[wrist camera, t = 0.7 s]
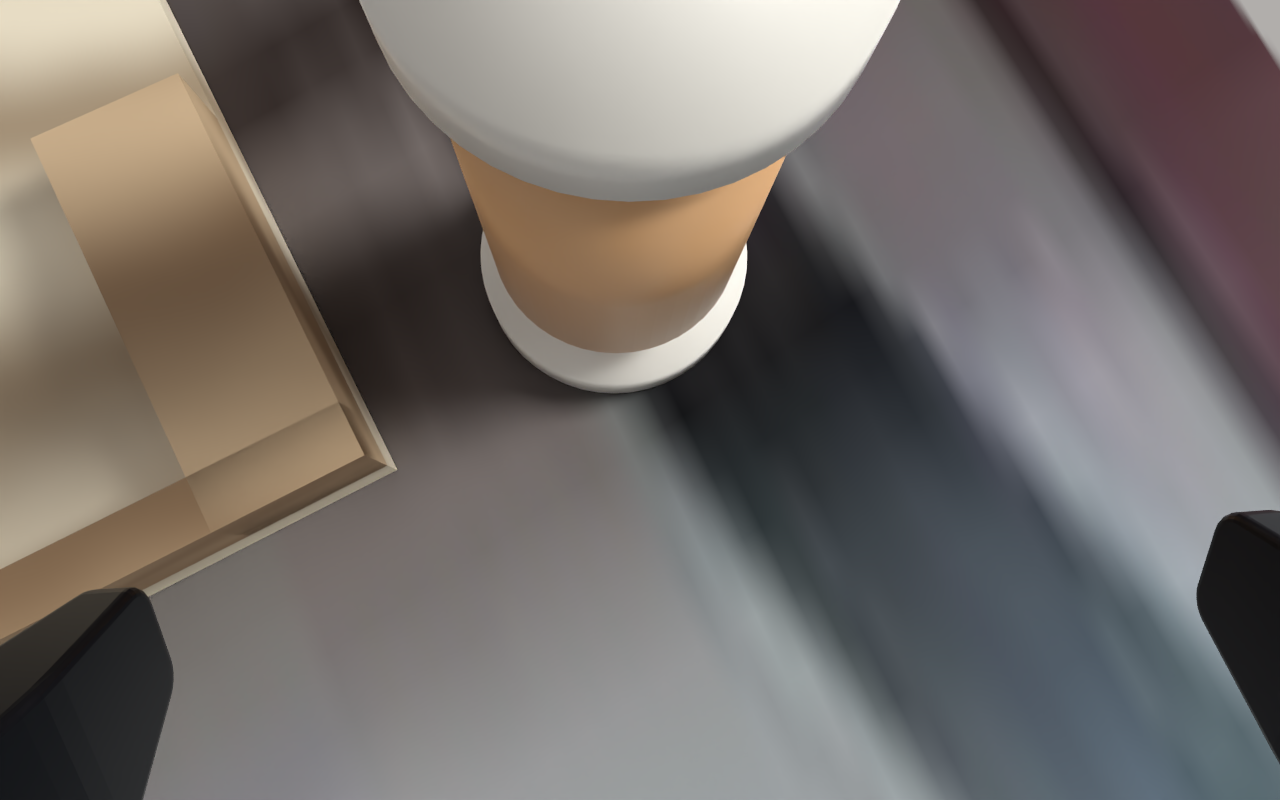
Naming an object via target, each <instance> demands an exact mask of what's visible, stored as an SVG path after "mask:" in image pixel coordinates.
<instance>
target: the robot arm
mask: <svg viewBox="0 0 1280 800" xmlns="http://www.w3.org/2000/svg"><path fill="white" fill-rule="evenodd" d="M1196 598H1197V606H1198V610H1199V613H1200V616H1201V618H1202V621H1203V622H1204V624H1205V626H1206V628H1207V630H1208V632H1209V634H1210V635H1211V637H1212V639H1213V641H1214V643H1215V645H1216V647H1217V649H1218V650H1219V652H1220V654H1221V656H1222V658H1223V660H1224V662H1225V664H1226V665H1227V667H1228V669H1229V671H1230V673H1231V675H1232V677H1233V678H1234V680H1235V682H1236V684H1237V686H1238V688H1239V690H1240V692H1241V693H1242V695H1243V697H1244V699H1245V701H1246V703H1247V705H1248V706H1249V708H1250V710H1251V712H1252V714H1253V716H1254V718H1255V720H1256V721H1257V723H1258V725H1259V727H1260V729H1261V731H1262V733H1263V735H1264V736H1265V738H1266V740H1267V742H1268V744H1269V746H1270V748H1271V749H1272V751H1273V753H1274V755H1275V756H1276V758H1277V760H1278V762H1279V764H1280V511H1274V510H1263V511H1249V512H1234V513H1231V514H1229V515H1226V516H1225V517H1223V518H1222V520H1221V521H1220V522H1219V523H1218V525H1217V527H1216V529H1215V532H1214V535H1213V538H1212V542H1211V545H1210V548H1209V551H1208V554H1207V557H1206V561H1205V564H1204V567H1203V570H1202V573H1201V576H1200V580H1199V583H1198V587H1197V597H1196ZM172 689H173V666H172V661H171V658H170V655H169V652H168V649H167V646H166V644H165V641H164V638H163V635H162V632H161V629H160V626H159V624H158V621H157V618H156V615H155V612H154V609H153V606H152V604H151V602H150V599H149V597H148V596H147V595H146V593H145V592H144V591H142V590H141V589H138V588H136V587H124V588H109V589H95V590H89V591H86V592H83V593H81V594H80V595H78V596H76V597H75V598H73V599H72V600H70V601H69V602H67V603H65V604H64V605H62V606H61V607H59V608H58V609H56V610H55V611H53V612H51V613H50V614H48V615H47V616H45V617H44V618H42V619H40V620H39V621H37V622H36V623H34V624H33V625H31V626H30V627H28V628H26V629H25V630H23V631H22V632H20V633H19V634H17V635H15V636H14V637H12V638H11V639H9V640H8V641H6V642H4V643H3V644H1V645H0V800H143V797H144V794H145V790H146V786H147V783H148V779H149V775H150V772H151V768H152V764H153V761H154V757H155V753H156V749H157V746H158V742H159V738H160V735H161V731H162V727H163V724H164V720H165V716H166V713H167V709H168V705H169V702H170V698H171V694H172Z"/></svg>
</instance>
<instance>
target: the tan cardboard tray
mask: <svg viewBox="0 0 1280 800" xmlns="http://www.w3.org/2000/svg"><path fill="white" fill-rule="evenodd" d="M396 470H397V468H396V466H395V464H394V462H393V460H392V458H391V456H390V454H389V452H388V450H387V448H386V446H385V444H384V442H383V440H382V437H381V435H380V433H379V431H378V429H377V427H376V425H375V423H374V421H373V419H372V417H371V415H370V413H369V411H368V409H367V407H366V405H365V403H364V401H363V399H362V397H361V395H360V393H359V391H358V389H357V387H356V385H355V383H354V381H353V379H352V377H351V375H350V373H349V370H348V368H347V366H346V364H345V362H344V360H343V358H342V356H341V354H340V352H339V350H338V348H337V346H336V344H335V342H334V340H333V338H332V336H331V334H330V332H329V330H328V328H327V326H326V324H325V322H324V320H323V318H322V316H321V314H320V312H319V310H318V308H317V306H316V304H315V301H314V299H313V297H312V295H311V293H310V291H309V289H308V287H307V285H306V283H305V281H304V279H303V277H302V275H301V273H300V271H299V269H298V267H297V265H296V263H295V261H294V259H293V257H292V255H291V253H290V251H289V249H288V247H287V245H286V243H285V241H284V239H283V237H282V234H281V232H280V230H279V228H278V226H277V224H276V222H275V220H274V218H273V216H272V214H271V212H270V210H269V208H268V206H267V204H266V202H265V200H264V198H263V196H262V194H261V192H260V190H259V188H258V186H257V184H256V182H255V180H254V178H253V176H252V174H251V172H250V170H249V168H248V165H247V163H246V161H245V159H244V157H243V155H242V153H241V151H240V149H239V147H238V145H237V143H236V141H235V139H234V137H233V135H232V133H231V131H230V129H229V127H228V125H227V123H226V121H225V119H224V117H223V115H222V113H221V111H220V109H219V107H218V105H217V103H216V101H215V98H214V96H213V94H212V92H211V90H210V88H209V86H208V84H207V82H206V80H205V78H204V76H203V74H202V72H201V70H200V68H199V66H198V64H197V62H196V60H195V58H194V56H193V54H192V52H191V50H190V48H189V46H188V44H187V42H186V40H185V38H184V36H183V34H182V32H181V29H180V27H179V25H178V23H177V21H176V19H175V17H174V15H173V13H172V11H171V9H170V7H169V5H168V3H167V1H166V0H0V645H1V644H3V643H4V642H6V641H8V640H9V639H11V638H12V637H14V636H15V635H17V634H19V633H20V632H22V631H23V630H25V629H26V628H28V627H30V626H31V625H33V624H34V623H36V622H37V621H39V620H40V619H42V618H44V617H45V616H47V615H48V614H50V613H51V612H53V611H55V610H56V609H58V608H59V607H61V606H62V605H64V604H65V603H67V602H69V601H70V600H72V599H73V598H75V597H76V596H78V595H80V594H81V593H83V592H86V591H89V590H95V589H109V588H124V587H136V588H138V589H141V590H142V591H144V592H145V593H146V595H147V596H148V597H149V596H151V595H153V594H155V593H157V592H159V591H161V590H163V589H165V588H167V587H169V586H171V585H173V584H175V583H177V582H179V581H180V580H182V579H184V578H186V577H188V576H190V575H192V574H194V573H196V572H198V571H200V570H202V569H204V568H206V567H208V566H210V565H212V564H214V563H216V562H218V561H220V560H222V559H224V558H226V557H228V556H230V555H231V554H233V553H235V552H237V551H239V550H241V549H243V548H245V547H247V546H249V545H251V544H253V543H255V542H257V541H259V540H261V539H263V538H265V537H267V536H269V535H271V534H273V533H275V532H277V531H279V530H281V529H282V528H284V527H286V526H288V525H290V524H292V523H294V522H296V521H298V520H300V519H302V518H304V517H306V516H308V515H310V514H312V513H314V512H316V511H318V510H320V509H322V508H324V507H326V506H328V505H330V504H331V503H333V502H335V501H337V500H339V499H341V498H343V497H345V496H347V495H349V494H351V493H353V492H355V491H357V490H359V489H361V488H363V487H365V486H367V485H369V484H371V483H373V482H375V481H377V480H379V479H381V478H382V477H384V476H386V475H388V474H390V473H392V472H394V471H396Z"/></svg>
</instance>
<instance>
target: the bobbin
mask: <svg viewBox="0 0 1280 800" xmlns="http://www.w3.org/2000/svg"><path fill="white" fill-rule="evenodd" d="M359 1H360V3H361V6H362V8H363V10H364V12H365V15H366V17H367V19H368V22H369V24H370V26H371V29H372V31H373V33H374V36H375V38H376V40H377V42H378V44H379V46H380V48H381V50H382V52H383V54H384V56H385V58H386V60H387V62H388V64H389V66H390V69H391V70H392V72H393V73H394V75H395V76H396V78H397V79H398V81H399V82H400V84H401V85H402V87H403V88H404V89H405V91H406V92H407V94H408V95H409V97H410V98H411V99H412V100H413V101H414V103H415V104H416V105H417V106H418V107H419V108H420V109H421V110H422V111H423V113H424V114H425V115H426V116H427V117H428V118H429V119H430V120H431V121H432V122H433V124H435V125H436V126H437V127H438V128H439V129H440V130H442V131H443V132H444V133H445V134H446V135H448V136H449V137H450V139H451V142H452V144H453V147H454V150H455V153H456V155H457V158H458V161H459V164H460V167H461V169H462V172H463V175H464V178H465V181H466V183H467V186H468V189H469V192H470V195H471V197H472V200H473V203H474V206H475V209H476V211H477V214H478V217H479V220H480V222H481V225H482V228H483V233H482V240H481V252H480V254H481V271H482V276H483V281H484V286H485V289H486V292H487V295H488V298H489V301H490V304H491V306H492V308H493V311H494V313H495V315H496V317H497V319H498V321H499V323H500V326H501V328H502V330H503V331H504V333H505V334H506V336H507V337H508V339H509V340H510V342H511V343H512V345H513V346H514V347H515V348H516V349H517V350H518V351H519V352H520V354H521V355H522V356H523V357H524V358H525V359H527V360H528V361H529V362H530V363H531V364H532V365H534V366H535V367H536V368H537V369H539V370H540V371H542V372H543V373H545V374H547V375H548V376H550V377H552V378H554V379H556V380H558V381H560V382H562V383H564V384H567V385H570V386H573V387H576V388H579V389H582V390H587V391H592V392H598V393H614V394H615V393H630V392H636V391H641V390H646V389H650V388H653V387H656V386H659V385H662V384H664V383H666V382H668V381H670V380H672V379H674V378H677V377H679V376H680V375H682V374H683V373H685V372H686V371H688V370H689V369H691V368H692V367H693V366H694V365H696V364H697V363H698V362H699V361H700V360H701V359H702V358H704V357H705V356H706V354H707V353H708V352H709V351H710V350H711V349H712V348H713V346H714V345H715V344H716V343H717V341H718V339H719V338H720V336H721V335H722V333H723V332H724V330H725V328H726V327H727V325H728V323H729V321H730V319H731V317H732V315H733V313H734V311H735V309H736V307H737V305H738V302H739V299H740V296H741V293H742V290H743V287H744V282H745V276H746V270H747V247H746V242H747V240H748V238H749V235H750V233H751V231H752V229H753V227H754V224H755V222H756V220H757V218H758V216H759V213H760V211H761V209H762V207H763V205H764V202H765V200H766V198H767V196H768V194H769V191H770V189H771V187H772V185H773V183H774V180H775V178H776V176H777V174H778V172H779V169H780V167H781V165H782V163H783V161H784V158H785V156H786V155H787V154H788V153H790V152H792V151H793V150H795V149H796V148H797V147H798V146H799V145H801V144H802V143H803V142H804V141H805V140H807V139H808V138H809V137H810V136H811V135H812V134H814V133H815V132H816V131H817V130H818V129H819V128H821V126H822V125H823V124H824V123H825V122H826V121H827V120H828V119H829V118H830V116H831V115H832V114H833V113H834V112H835V111H836V110H837V109H838V107H839V106H840V105H841V104H842V103H843V101H844V100H845V98H846V97H847V95H848V94H849V92H850V91H851V89H852V88H853V86H854V85H855V83H856V82H857V80H858V79H859V77H860V76H861V74H862V72H863V70H864V68H865V67H866V65H867V63H868V61H869V59H870V57H871V55H872V53H873V52H874V50H875V48H876V46H877V44H878V42H879V40H880V38H881V37H882V35H883V33H884V31H885V29H886V27H887V25H888V24H889V22H890V20H891V18H892V16H893V14H894V12H895V10H896V8H897V6H898V4H899V2H900V0H359Z"/></svg>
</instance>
